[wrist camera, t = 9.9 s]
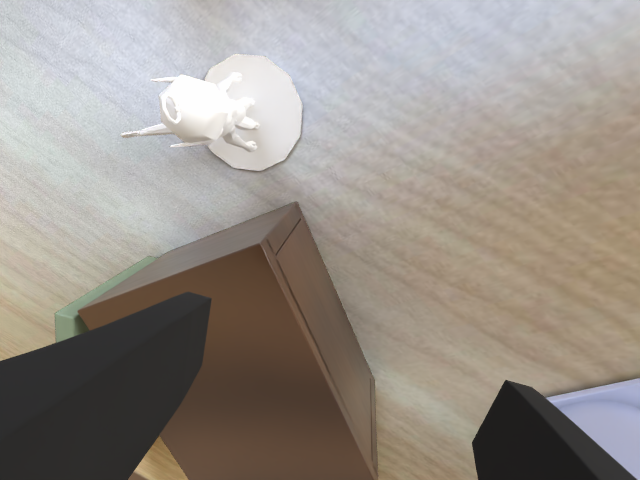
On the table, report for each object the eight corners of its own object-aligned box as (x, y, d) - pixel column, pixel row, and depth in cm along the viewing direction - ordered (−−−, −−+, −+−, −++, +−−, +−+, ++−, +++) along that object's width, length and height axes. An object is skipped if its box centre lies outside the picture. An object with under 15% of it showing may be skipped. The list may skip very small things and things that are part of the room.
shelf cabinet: (374, 380, 20) (379, 491, 14) (256, 409, 22) (214, 519, 16) (297, 200, 17) (260, 242, 11) (168, 251, 19) (75, 311, 13)
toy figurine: (312, 162, 17) (275, 189, 10) (163, 186, 18) (37, 225, 11) (292, 41, 15) (229, -30, 8) (130, 77, 16) (-42, 43, 9)
